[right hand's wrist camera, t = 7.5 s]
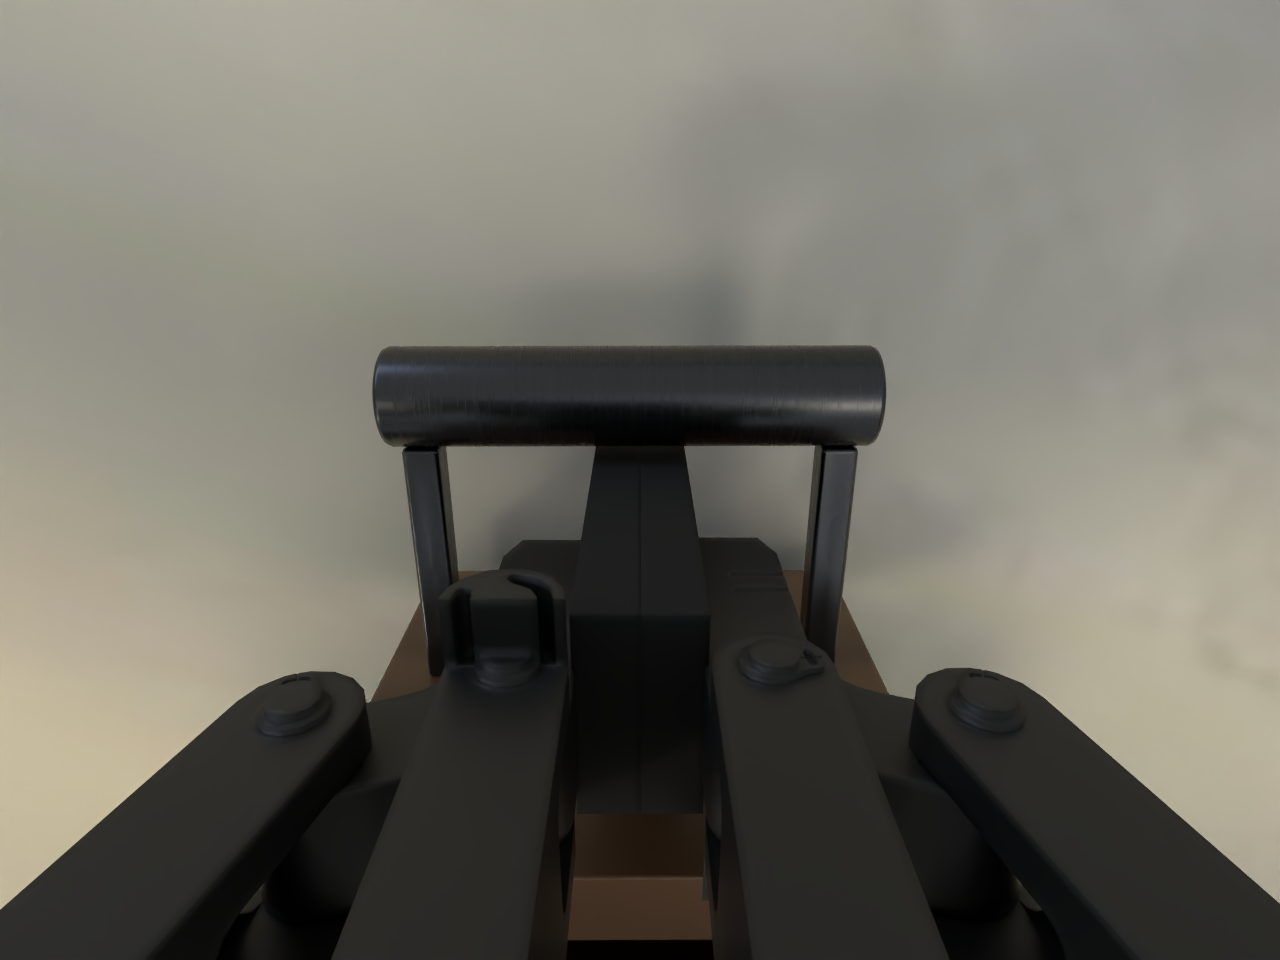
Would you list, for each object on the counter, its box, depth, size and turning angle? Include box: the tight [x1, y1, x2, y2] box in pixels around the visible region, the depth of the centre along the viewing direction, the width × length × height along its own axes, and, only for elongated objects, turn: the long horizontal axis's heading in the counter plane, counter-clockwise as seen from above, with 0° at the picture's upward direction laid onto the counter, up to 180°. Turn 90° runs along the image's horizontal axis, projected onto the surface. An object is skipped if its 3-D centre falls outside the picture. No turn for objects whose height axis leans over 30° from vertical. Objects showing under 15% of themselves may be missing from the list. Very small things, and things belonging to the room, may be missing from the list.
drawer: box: [371, 346, 889, 960], centre depth 16 cm, size 22×9×8 cm, turn 0°
